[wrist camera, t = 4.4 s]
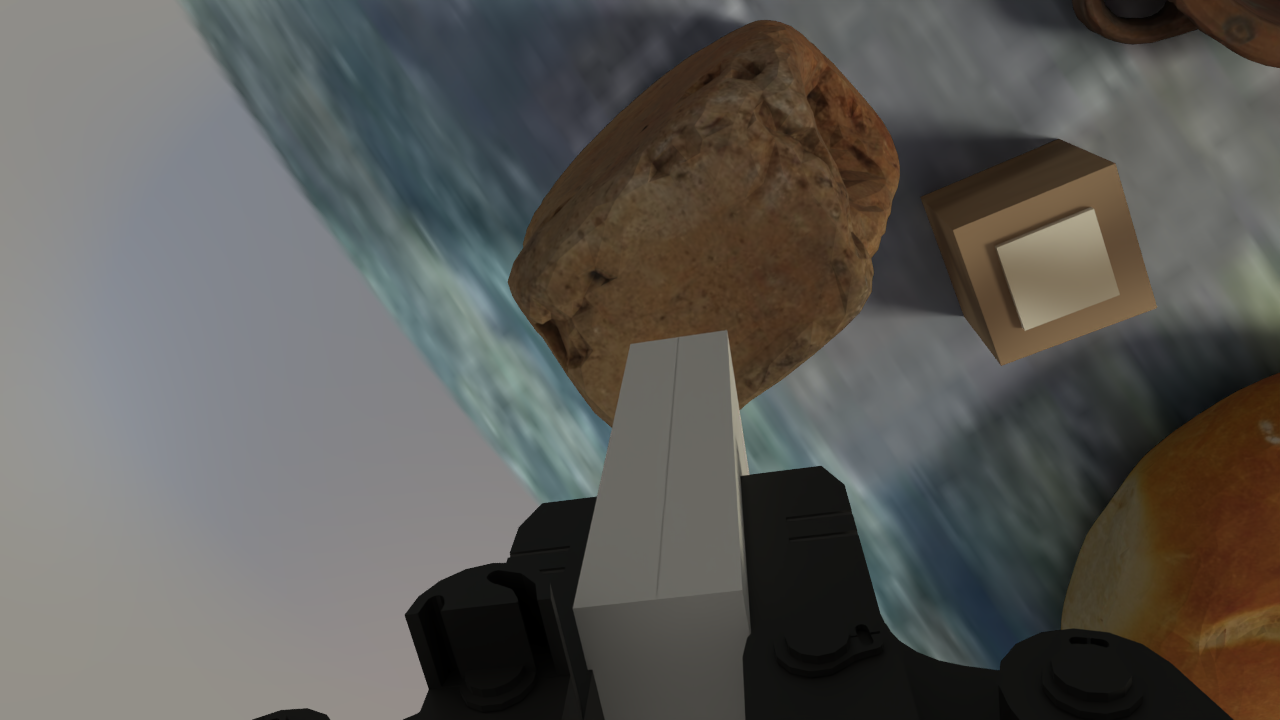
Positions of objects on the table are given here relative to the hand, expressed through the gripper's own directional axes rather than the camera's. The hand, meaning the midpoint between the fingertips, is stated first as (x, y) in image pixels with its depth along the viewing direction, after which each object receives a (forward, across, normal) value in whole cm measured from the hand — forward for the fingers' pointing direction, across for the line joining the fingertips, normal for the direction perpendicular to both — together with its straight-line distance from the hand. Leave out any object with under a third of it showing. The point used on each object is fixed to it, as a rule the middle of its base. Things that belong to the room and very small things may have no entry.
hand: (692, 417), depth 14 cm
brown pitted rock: (+28, +1, 0) cm, 28 cm away
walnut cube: (+28, +13, -6) cm, 31 cm away
